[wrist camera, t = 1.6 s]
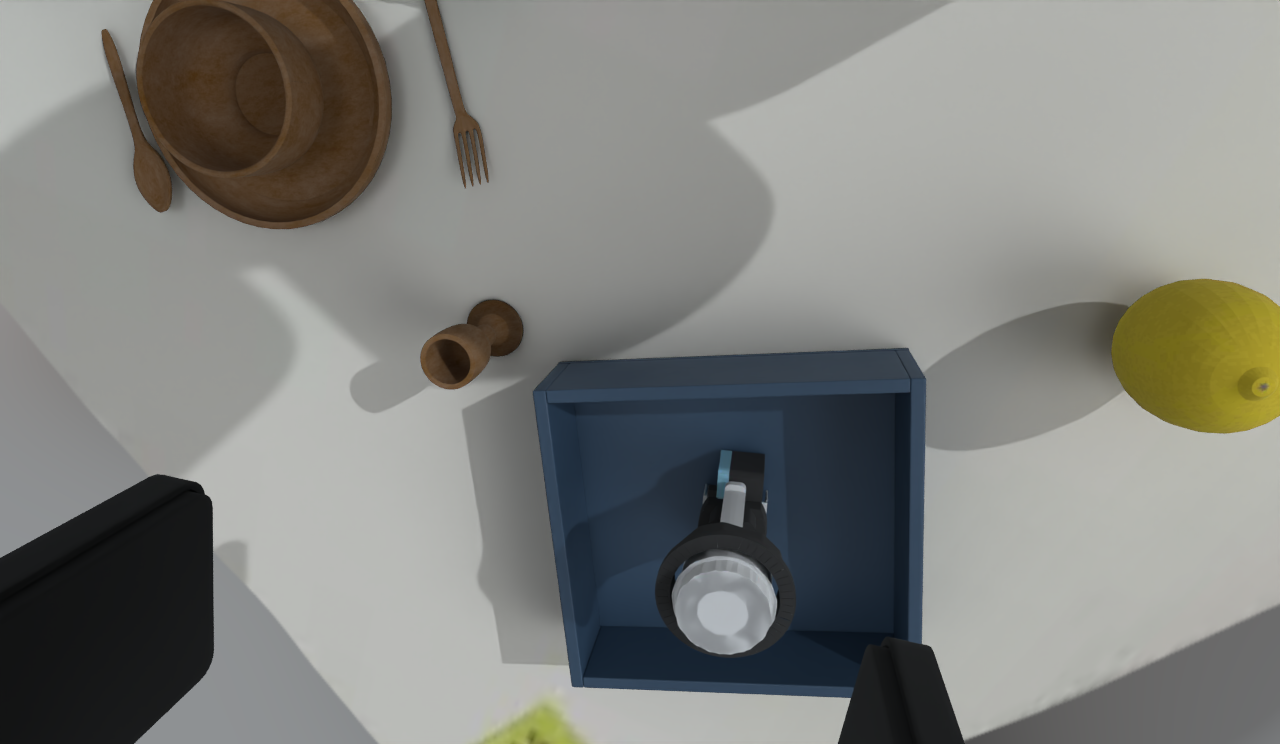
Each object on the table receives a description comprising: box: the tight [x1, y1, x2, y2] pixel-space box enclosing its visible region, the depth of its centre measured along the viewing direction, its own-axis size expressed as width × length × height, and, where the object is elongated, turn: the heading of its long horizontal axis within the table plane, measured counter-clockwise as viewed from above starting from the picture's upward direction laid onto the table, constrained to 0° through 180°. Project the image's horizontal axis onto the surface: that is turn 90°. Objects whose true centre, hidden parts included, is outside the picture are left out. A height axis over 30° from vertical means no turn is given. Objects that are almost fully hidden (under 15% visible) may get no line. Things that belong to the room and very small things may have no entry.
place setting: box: [102, 0, 523, 389], centre depth 34 cm, size 18×20×6 cm
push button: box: [655, 450, 796, 658], centre depth 34 cm, size 7×5×10 cm
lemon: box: [1111, 279, 1280, 433], centre depth 29 cm, size 6×6×8 cm
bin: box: [533, 348, 926, 698], centre depth 36 cm, size 16×15×4 cm
